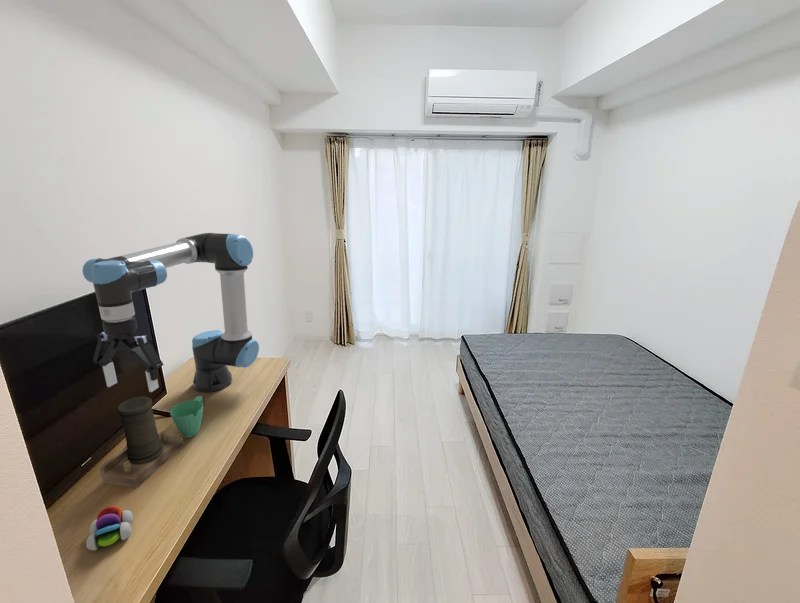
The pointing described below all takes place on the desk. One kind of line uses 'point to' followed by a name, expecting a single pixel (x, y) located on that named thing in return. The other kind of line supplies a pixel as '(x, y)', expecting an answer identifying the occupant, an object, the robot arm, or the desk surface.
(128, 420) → the container
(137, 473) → the ledge
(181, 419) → the mug
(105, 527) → the rainbow striped lobed toy
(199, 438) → the desk surface
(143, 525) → the desk surface
